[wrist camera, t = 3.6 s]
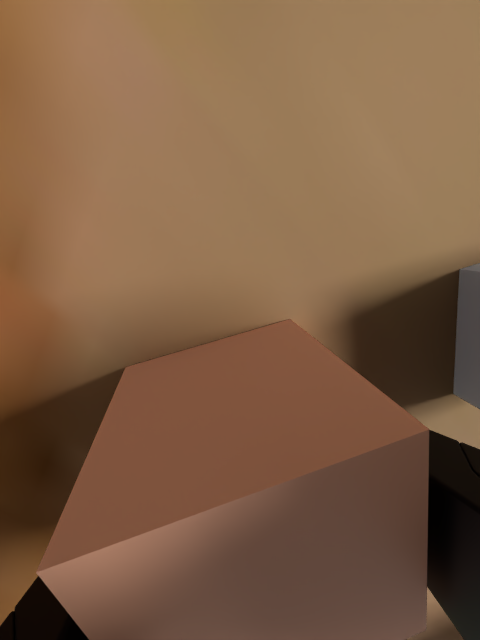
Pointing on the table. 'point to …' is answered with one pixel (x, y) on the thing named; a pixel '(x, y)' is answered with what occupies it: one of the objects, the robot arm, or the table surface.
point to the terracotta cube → (247, 501)
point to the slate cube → (468, 337)
